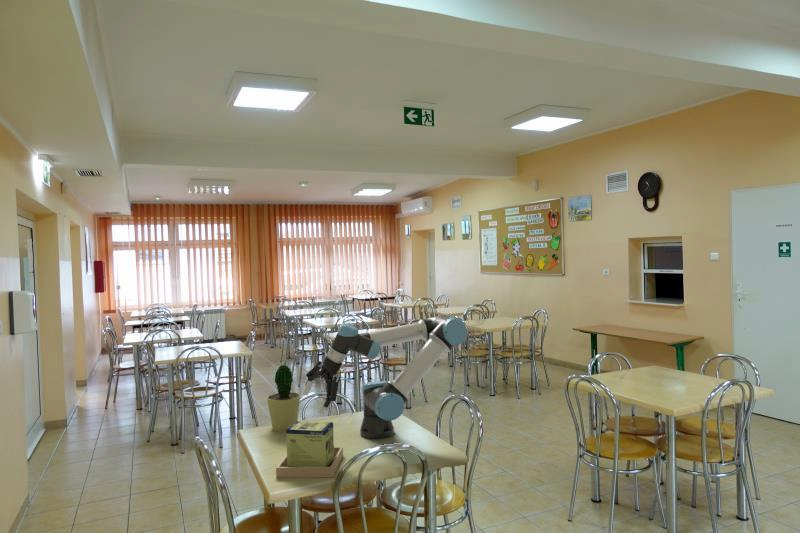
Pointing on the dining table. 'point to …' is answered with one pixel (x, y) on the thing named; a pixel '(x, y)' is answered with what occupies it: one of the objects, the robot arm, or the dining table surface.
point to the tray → (309, 468)
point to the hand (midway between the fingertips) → (312, 403)
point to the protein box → (310, 444)
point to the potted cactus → (283, 401)
